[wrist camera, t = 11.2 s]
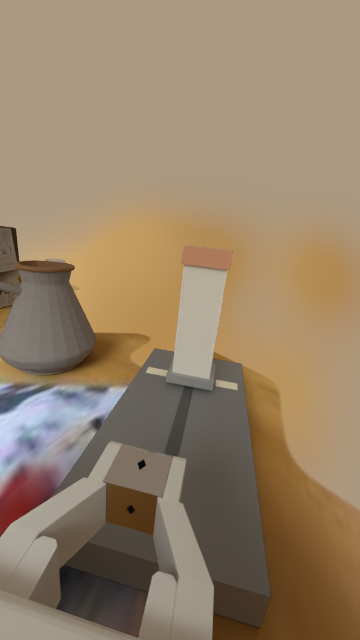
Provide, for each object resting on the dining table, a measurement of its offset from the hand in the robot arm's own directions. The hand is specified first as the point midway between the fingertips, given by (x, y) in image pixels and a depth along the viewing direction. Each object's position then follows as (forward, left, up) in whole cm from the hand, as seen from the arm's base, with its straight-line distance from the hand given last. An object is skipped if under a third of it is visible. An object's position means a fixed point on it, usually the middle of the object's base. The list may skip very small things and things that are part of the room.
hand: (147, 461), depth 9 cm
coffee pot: (-22, +16, -9) cm, 28 cm away
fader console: (0, +12, -9) cm, 15 cm away
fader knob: (0, +17, -6) cm, 19 cm away
